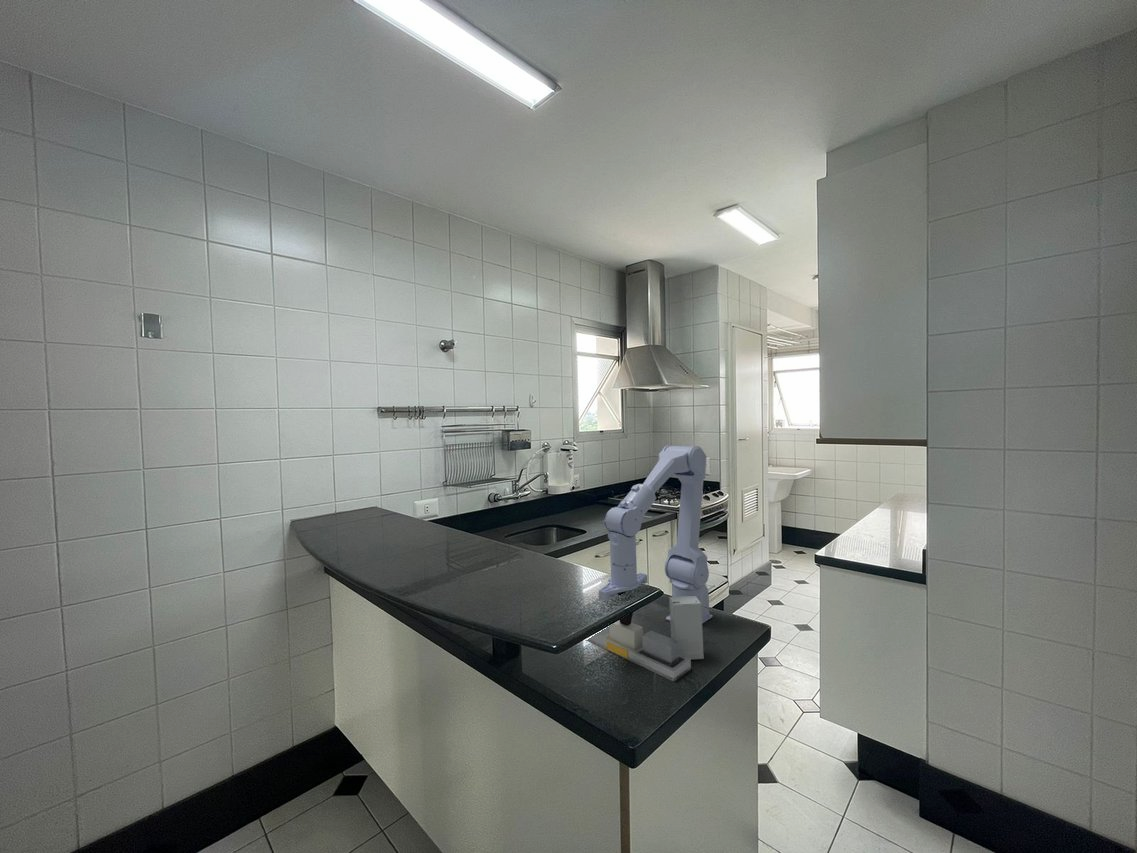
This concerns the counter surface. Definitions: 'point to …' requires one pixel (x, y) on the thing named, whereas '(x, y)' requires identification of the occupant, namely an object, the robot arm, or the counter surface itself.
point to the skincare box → (687, 625)
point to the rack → (649, 653)
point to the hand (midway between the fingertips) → (625, 623)
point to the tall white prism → (627, 635)
